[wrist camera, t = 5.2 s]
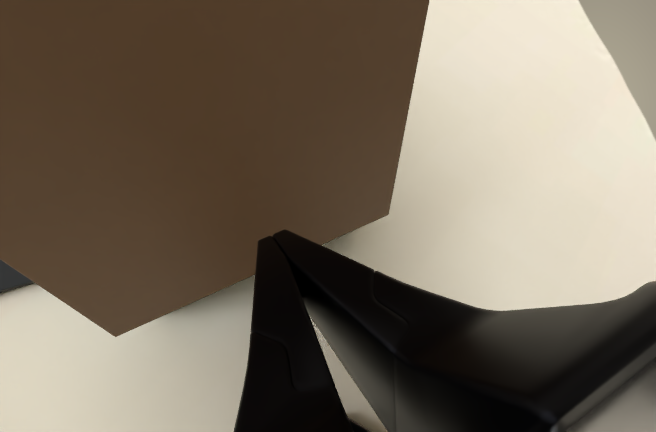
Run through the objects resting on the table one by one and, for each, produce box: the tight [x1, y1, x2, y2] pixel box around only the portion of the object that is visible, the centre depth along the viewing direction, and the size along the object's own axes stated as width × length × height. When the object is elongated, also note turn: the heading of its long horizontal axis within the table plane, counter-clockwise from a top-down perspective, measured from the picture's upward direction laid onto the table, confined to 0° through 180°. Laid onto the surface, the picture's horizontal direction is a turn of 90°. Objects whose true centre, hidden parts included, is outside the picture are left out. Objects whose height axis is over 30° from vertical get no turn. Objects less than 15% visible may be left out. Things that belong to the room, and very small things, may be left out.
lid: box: [0, 0, 429, 337], centre depth 11 cm, size 12×14×1 cm
